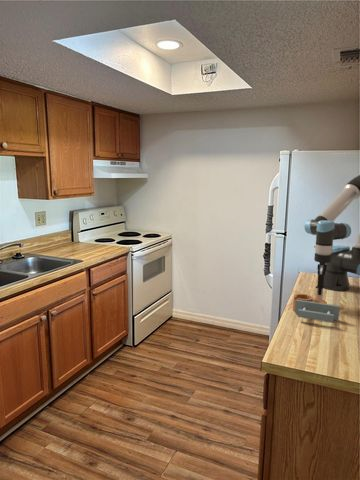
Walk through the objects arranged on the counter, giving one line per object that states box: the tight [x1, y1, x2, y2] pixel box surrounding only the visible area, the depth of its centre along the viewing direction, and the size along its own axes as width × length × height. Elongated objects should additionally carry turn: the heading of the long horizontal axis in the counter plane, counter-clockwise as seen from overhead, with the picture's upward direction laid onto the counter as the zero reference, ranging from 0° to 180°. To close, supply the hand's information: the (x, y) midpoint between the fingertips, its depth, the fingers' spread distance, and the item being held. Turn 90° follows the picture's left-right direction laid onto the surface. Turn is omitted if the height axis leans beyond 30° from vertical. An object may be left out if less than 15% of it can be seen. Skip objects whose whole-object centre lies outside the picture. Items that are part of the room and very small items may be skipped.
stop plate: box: [294, 299, 341, 323], centre depth 156 cm, size 9×18×6 cm, turn 65°
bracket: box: [292, 293, 328, 313], centre depth 169 cm, size 18×8×7 cm, turn 118°
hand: (319, 300), depth 175 cm, fingers closed
